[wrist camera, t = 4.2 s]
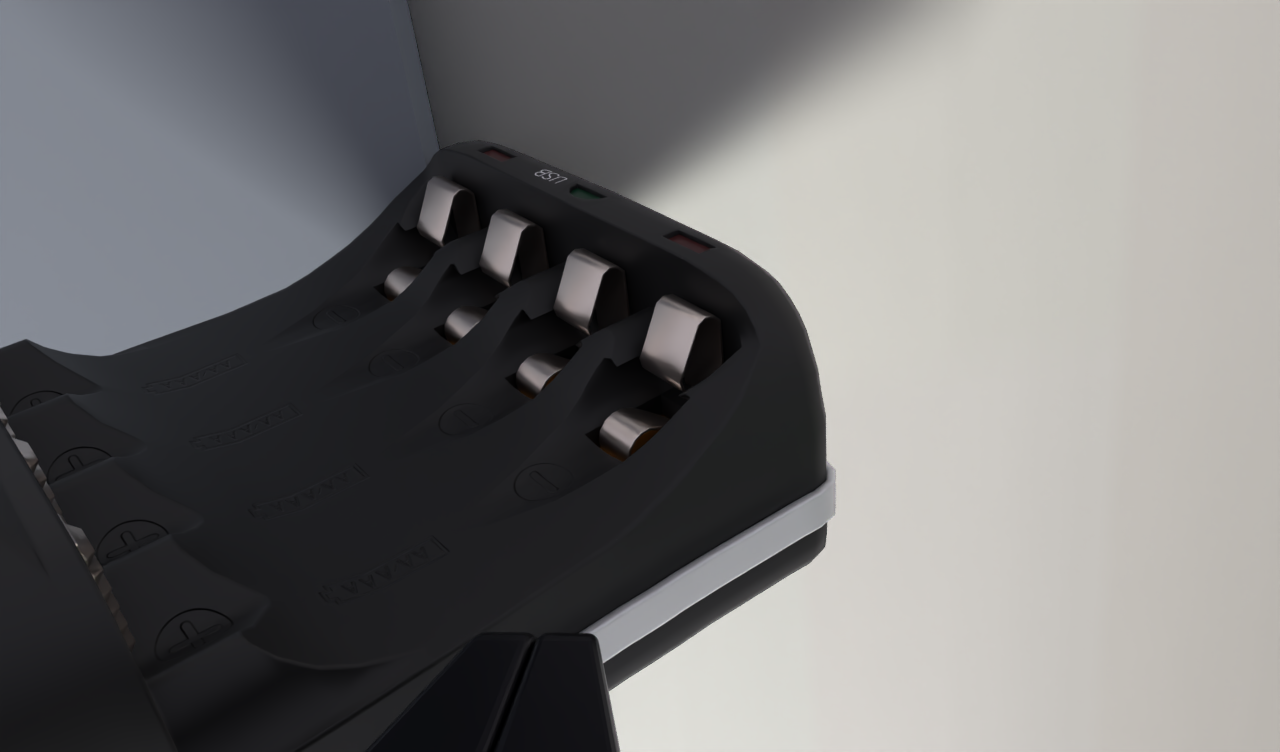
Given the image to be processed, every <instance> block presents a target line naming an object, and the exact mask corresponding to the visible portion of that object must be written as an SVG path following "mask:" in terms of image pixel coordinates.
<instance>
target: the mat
mask: <svg viewBox="0 0 1280 752" xmlns="http://www.w3.org/2000/svg"><path fill="white" fill-rule="evenodd" d="M439 150H440V149H439V145H438V140H437V136H436V131H435V126H434V122H433V117H432V113H431V108H430V103H429V99H428V94H427V90H426V85H425V80H424V76H423V71H422V67H421V62H420V57H419V53H418V48H417V44H416V39H415V34H414V30H413V25H412V21H411V16H410V11H409V7H408V2H407V0H0V348H2V347H5V346H8V345H10V344H13V343H16V342H18V341H21V340H24V339H28V340H30V341H32V342H35V343H37V344H39V345H41V346H43V347H47V348H51V349H54V350H58V351H62V352H67V353H72V354H82V355H93V356H107V355H113V354H115V353H118V352H121V351H123V350H126V349H129V348H132V347H134V346H137V345H140V344H142V343H145V342H148V341H151V340H154V339H156V338H159V337H162V336H165V335H168V334H170V333H173V332H176V331H179V330H182V329H185V328H187V327H190V326H193V325H196V324H199V323H201V322H204V321H207V320H210V319H212V318H215V317H218V316H221V315H224V314H226V313H229V312H231V311H234V310H236V309H238V308H241V307H243V306H245V305H248V304H250V303H252V302H255V301H257V300H259V299H262V298H264V297H266V296H268V295H271V294H273V293H275V292H278V291H280V290H282V289H285V288H287V287H288V286H290V285H291V284H293V283H295V282H296V281H298V280H300V279H301V278H303V277H305V276H306V275H308V274H309V273H311V272H312V271H314V270H315V269H316V268H318V267H319V266H320V265H322V264H323V263H325V262H326V261H327V260H329V259H330V258H332V257H333V256H334V255H336V254H337V253H338V252H340V251H341V250H342V249H344V248H345V247H346V246H347V245H349V244H350V243H351V242H352V241H353V240H354V239H355V238H356V237H357V236H359V235H360V234H361V233H362V232H363V231H364V230H365V229H366V228H367V227H368V226H369V225H370V224H371V223H372V222H373V221H374V220H375V219H376V218H377V217H378V216H379V215H380V214H381V213H382V212H383V211H384V209H385V208H386V207H387V206H388V205H389V204H390V203H391V201H392V200H393V199H394V198H395V197H396V196H397V195H398V194H399V193H400V192H402V191H403V190H404V189H405V188H406V187H407V186H408V185H409V184H410V183H411V182H412V181H413V180H414V179H415V178H416V177H417V176H418V175H419V174H420V173H421V172H423V170H424V169H425V168H426V166H427V165H428V164H429V162H430V160H431V159H432V157H433V155H434V154H435V153H436V152H438V151H439Z"/></svg>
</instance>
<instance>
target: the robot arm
mask: <svg viewBox="0 0 1280 752" xmlns="http://www.w3.org/2000/svg"><path fill="white" fill-rule="evenodd" d="M365 752H620V748H619V743H618V738H617V732H616V727H615V722H614V717H613V712H612V707H611V701H610V696H609V691H608V686H607V681H606V676H605V671H604V665H603V660H602V655H601V650H600V645H599V641H598V639H597V637H596V636H595V635H593V634H591V633H544V634H543V635H541V636H540V637H539V638H537V637H536V636H535V635H533V634H531V633H527V632H485V633H481V634H479V635H477V636H476V637H474V638H473V639H472V640H470V641H469V642H468V643H467V644H466V646H465V647H464V648H463V649H462V650H461V651H460V652H459V653H458V654H457V655H456V656H455V657H454V658H453V659H452V660H451V661H450V662H449V663H448V664H447V666H446V667H445V668H444V669H443V670H442V671H441V672H440V673H439V674H438V675H437V676H436V677H435V678H434V679H433V680H432V681H431V682H430V683H429V684H428V685H427V687H426V688H425V689H424V690H423V691H422V692H421V693H420V694H419V695H418V696H417V697H416V698H415V699H414V700H413V701H412V702H411V703H410V704H409V705H408V706H407V708H406V709H405V710H404V711H403V712H402V713H401V714H400V715H399V716H398V717H397V718H396V719H395V720H394V721H393V722H392V723H391V724H390V725H389V726H388V728H387V729H386V730H385V731H384V732H383V733H382V734H381V735H380V736H379V737H378V738H377V739H376V740H375V741H374V742H373V743H372V744H371V745H370V746H369V747H368V749H367V750H366V751H365Z"/></svg>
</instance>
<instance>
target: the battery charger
mask: <svg viewBox="0 0 1280 752" xmlns="http://www.w3.org/2000/svg"><path fill="white" fill-rule="evenodd" d="M835 508H836V470H835V469H834V468H833V467H832V466H831V464H830V463H829V462H828V461H827V460H826V414H825V408H824V403H823V398H822V392H821V386H820V380H819V373H818V367H817V364H816V361H815V357H814V354H813V350H812V347H811V344H810V340H809V337H808V333H807V330H806V328H805V325H804V323H803V321H802V319H801V316H800V314H799V312H798V311H797V309H796V307H795V305H794V304H793V302H792V300H791V299H790V297H789V296H788V294H787V293H786V291H785V290H784V289H783V287H782V286H781V285H780V283H779V282H778V281H777V280H776V279H775V278H774V277H773V276H771V275H770V274H769V273H768V272H767V271H766V270H764V269H763V268H762V267H760V266H759V265H757V264H756V263H755V262H753V261H752V260H750V259H749V258H748V257H746V256H745V255H743V254H742V253H741V252H739V251H738V250H736V249H734V248H732V247H730V246H728V245H726V244H724V243H722V242H720V241H718V240H716V239H714V238H711V237H709V236H707V235H705V234H703V233H701V232H699V231H696V230H694V229H692V228H690V227H688V226H686V225H684V224H682V223H679V222H677V221H675V220H673V219H671V218H669V217H667V216H664V215H662V214H660V213H658V212H656V211H654V210H652V209H650V208H647V207H645V206H643V205H641V204H639V203H637V202H634V201H632V200H630V199H628V198H626V197H624V196H622V195H619V194H617V193H615V192H613V191H610V190H608V189H606V188H603V187H601V186H598V185H596V184H594V183H591V182H589V181H587V180H584V179H582V178H579V177H577V176H575V175H572V174H570V173H567V172H565V171H563V170H560V169H558V168H555V167H553V166H551V165H548V164H546V163H544V162H541V161H539V160H536V159H534V158H532V157H529V156H527V155H524V154H522V153H520V152H517V151H515V150H512V149H510V148H507V147H504V146H501V145H498V144H494V143H490V142H485V141H480V140H477V141H469V142H461V143H456V144H454V145H451V146H449V147H446V148H444V149H441V150H439V151H438V152H436V153H435V154H434V155H433V157H432V159H431V160H430V162H429V164H428V165H427V166H426V168H425V169H424V170H423V172H421V173H420V174H419V175H418V176H417V177H416V178H415V179H414V180H413V181H412V182H411V183H410V184H409V185H408V186H407V187H406V188H405V189H404V190H403V191H402V192H400V193H399V194H398V195H397V196H396V197H395V198H394V199H393V200H392V201H391V203H390V204H389V205H388V206H387V207H386V208H385V209H384V211H383V212H382V213H381V214H380V215H379V216H378V217H377V218H376V219H375V220H374V221H373V222H372V223H371V224H370V225H369V226H368V227H367V228H366V229H365V230H364V231H363V232H362V233H361V234H360V235H359V236H357V237H356V238H355V239H354V240H353V241H352V242H351V243H350V244H349V245H347V246H346V247H345V248H344V249H342V250H341V251H340V252H338V253H337V254H336V255H334V256H333V257H332V258H330V259H329V260H327V261H326V262H325V263H323V264H322V265H320V266H319V267H318V268H316V269H315V270H314V271H312V272H311V273H309V274H308V275H306V276H305V277H303V278H301V279H300V280H298V281H296V282H295V283H293V284H291V285H290V286H288V287H287V288H285V289H282V290H280V291H278V292H275V293H273V294H271V295H268V296H266V297H264V298H262V299H259V300H257V301H255V302H252V303H250V304H248V305H245V306H243V307H241V308H238V309H236V310H234V311H231V312H229V313H226V314H224V315H221V316H218V317H215V318H212V319H210V320H207V321H204V322H201V323H199V324H196V325H193V326H190V327H187V328H185V329H182V330H179V331H176V332H173V333H170V334H168V335H165V336H162V337H159V338H156V339H154V340H151V341H148V342H145V343H142V344H140V345H137V346H134V347H132V348H129V349H126V350H123V351H121V352H118V353H115V354H113V355H107V356H93V355H82V354H72V353H67V352H62V351H58V350H54V349H51V348H47V347H43V346H41V345H39V344H37V343H35V342H32V341H30V340H28V339H24V340H21V341H18V342H16V343H13V344H10V345H8V346H5V347H2V348H0V752H365V751H366V750H367V749H368V747H369V746H370V745H371V744H372V743H373V742H374V741H375V740H376V739H377V738H378V737H379V736H380V735H381V734H382V733H383V732H384V731H385V730H386V729H387V728H388V726H389V725H390V724H391V723H392V722H393V721H394V720H395V719H396V718H397V717H398V716H399V715H400V714H401V713H402V712H403V711H404V710H405V709H406V708H407V706H408V705H409V704H410V703H411V702H412V701H413V700H414V699H415V698H416V697H417V696H418V695H419V694H420V693H421V692H422V691H423V690H424V689H425V688H426V687H427V685H428V684H429V683H430V682H431V681H432V680H433V679H434V678H435V677H436V676H437V675H438V674H439V673H440V672H441V671H442V670H443V669H444V668H445V667H446V666H447V664H448V663H449V662H450V661H451V660H452V659H453V658H454V657H455V656H456V655H457V654H458V653H459V652H460V651H461V650H462V649H463V648H464V647H465V646H466V644H467V643H468V642H469V641H470V640H472V639H473V638H474V637H476V636H477V635H479V634H481V633H485V632H527V633H531V634H533V635H535V636H536V637H537V638H539V637H540V636H541V635H543V634H544V633H591V634H593V635H595V636H596V637H597V639H598V641H599V645H600V650H601V655H602V660H603V665H604V671H605V676H606V681H607V686H608V691H610V690H612V689H613V688H615V687H616V686H617V685H619V684H620V683H622V682H623V681H625V680H626V679H628V678H629V677H631V676H633V675H634V674H636V673H637V672H639V671H640V670H642V669H644V668H645V667H647V666H648V665H650V664H651V663H653V662H655V661H656V660H658V659H659V658H661V657H662V656H664V655H665V654H667V653H668V652H670V651H672V650H673V649H675V648H676V647H678V646H679V645H681V644H682V643H684V642H685V641H687V640H688V639H689V638H691V637H692V636H694V635H695V634H697V633H698V632H700V631H701V630H703V629H704V628H706V627H707V626H709V625H710V624H712V623H713V622H715V621H717V620H718V619H720V618H721V617H723V616H725V615H726V614H728V613H729V612H731V611H733V610H734V609H736V608H737V607H739V606H741V605H742V604H744V603H745V602H747V601H749V600H750V599H752V598H753V597H755V596H757V595H758V594H760V593H761V592H763V591H765V590H766V589H768V588H769V587H771V586H773V585H774V584H776V583H777V582H779V581H781V580H782V579H784V578H785V577H787V576H789V575H790V574H792V573H794V572H796V571H797V570H799V569H801V568H802V567H804V566H806V565H808V564H809V563H810V562H811V561H812V560H813V559H814V558H815V557H816V556H817V555H818V554H819V553H820V552H821V551H822V550H823V549H824V547H825V543H826V535H827V522H828V521H829V520H830V519H831V518H832V517H833V516H834V515H835Z"/></svg>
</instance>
